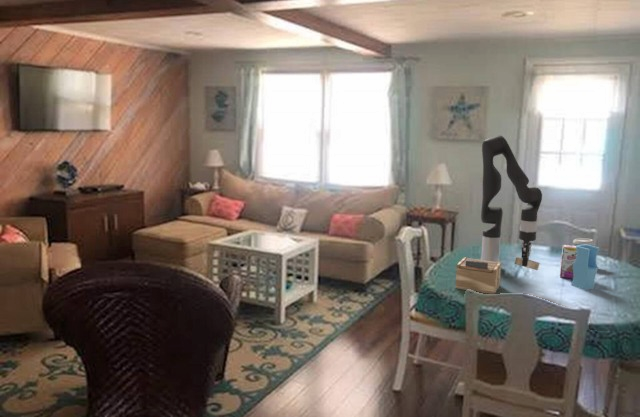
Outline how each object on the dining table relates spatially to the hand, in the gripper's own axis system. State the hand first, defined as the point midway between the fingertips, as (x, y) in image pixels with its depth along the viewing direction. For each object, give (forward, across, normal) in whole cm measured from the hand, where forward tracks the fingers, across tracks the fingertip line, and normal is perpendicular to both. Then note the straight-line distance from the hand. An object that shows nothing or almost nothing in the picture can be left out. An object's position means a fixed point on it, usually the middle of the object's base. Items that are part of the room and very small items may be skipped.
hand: (525, 265), depth 261 cm
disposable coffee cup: (+12, -58, +22) cm, 64 cm away
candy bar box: (+12, -32, +19) cm, 39 cm away
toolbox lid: (+2, +8, -20) cm, 21 cm away
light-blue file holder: (+12, -18, +25) cm, 33 cm away
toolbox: (+12, +8, -20) cm, 24 cm away
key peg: (0, 0, +6) cm, 6 cm away
